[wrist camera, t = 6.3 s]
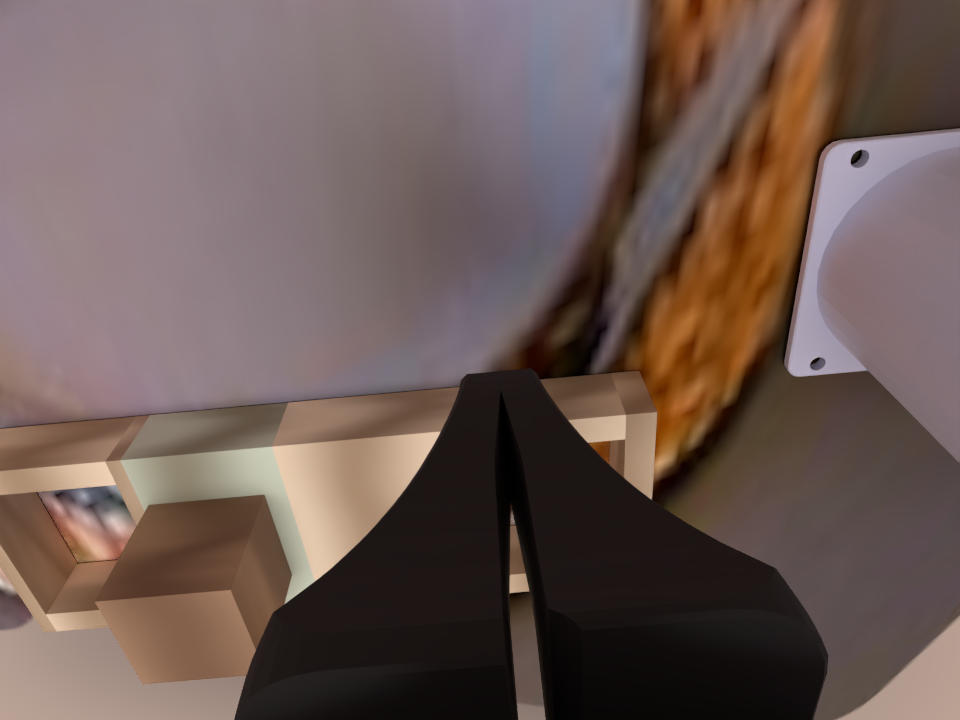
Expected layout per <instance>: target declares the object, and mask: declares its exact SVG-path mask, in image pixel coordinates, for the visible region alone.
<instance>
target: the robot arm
mask: <svg viewBox="0 0 960 720" xmlns="http://www.w3.org/2000/svg"><path fill="white" fill-rule="evenodd" d="M861 149H862V156H861V158H860V160H858V161H857V162H856V163H854V164H851V158H852V155H853V154H854V153H855V152H856V151H859V150H861ZM818 357H820V359H819V361H817V362H816V363H814V364H810V363H811V362H812V361H813V360H814V359H815V358H818ZM784 364H785V367H786V369H787V370H788V371H789V373H790V374H792V375H793V376H798V377H802V376H813V375H824V374H835V373H846V372H857V371H869V372H870V373H871V374H872V375H873V376H874V377H875V378H876V379H877V380H878V381H879V382H880V383H881V384H882V385H883V386H884V387H885V388H886V389H887V390H888V391H889V392H890V393H891V394H892V395H893V396H894V397H895V398H896V399H897V400H898V401H899V402H900V404H901V405H902V406H903V407H904V408H905V409H906V410H907V411H908V412H909V413H910V414H911V415H912V416H913V417H914V418H915V419H916V420H917V421H918V422H919V423H920V424H921V425H922V426H923V427H924V428H925V429H926V430H927V431H928V432H929V433H930V434H931V435H932V436H933V437H934V438H935V439H936V440H937V441H938V442H939V443H940V444H941V445H942V446H943V447H944V448H945V449H946V450H947V451H948V452H949V453H950V454H951V455H952V456H953V457H954V458H955V459H956V460H957V461H958V462H959V463H960V128H958V129H948V130H937V131H927V132H917V133H907V134H896V135H886V136H876V137H866V138H855V139H845V140H838V141H835V142H832V143H831V144H829V145H828V146H827V147H826V148H825V149H824V150H823V152H822V154H821V156H820V159H819V165H818V171H817V176H816V182H815V188H814V193H813V199H812V205H811V211H810V216H809V222H808V228H807V234H806V239H805V245H804V251H803V257H802V262H801V268H800V274H799V280H798V285H797V291H796V297H795V303H794V308H793V314H792V320H791V326H790V331H789V337H788V343H787V349H786V354H785V360H784ZM511 506H512V510H513V515H514V520H515V525H516V530H517V534H518V539H519V544H520V549H521V554H522V558H523V563H524V568H525V573H526V577H527V582H528V587H529V592H530V596H531V601H532V607H533V614H534V620H535V627H536V636H537V645H538V654H539V663H540V672H541V681H542V690H543V699H544V708H545V717H546V720H813V718H814V715H815V711H816V708H817V705H818V701H819V698H820V695H821V691H822V688H823V684H824V681H825V678H826V674H827V665H828V654H827V651H826V649H825V646H824V644H823V641H822V639H821V637H820V635H819V633H818V631H817V629H816V627H815V625H814V624H813V622H812V620H811V618H810V616H809V615H808V613H807V612H806V610H805V609H804V607H803V606H802V604H801V603H800V601H799V600H798V599H797V597H796V596H795V594H794V593H793V591H792V590H791V589H790V587H789V586H788V584H787V583H786V582H785V580H784V579H783V578H782V576H781V575H780V573H779V572H778V571H777V569H775V568H774V567H772V566H770V565H767V564H765V563H763V562H761V561H759V560H757V559H755V558H753V557H751V556H748V555H746V554H744V553H742V552H740V551H738V550H736V549H734V548H731V547H729V546H727V545H725V544H723V543H721V542H719V541H717V540H715V539H714V538H712V537H710V536H708V535H707V534H705V533H703V532H701V531H700V530H698V529H696V528H694V527H693V526H691V525H689V524H687V523H686V522H684V521H683V520H681V519H679V518H678V517H676V516H675V515H673V514H672V513H670V512H669V511H667V510H666V509H665V508H663V507H662V506H660V505H659V504H657V503H656V502H654V501H653V500H651V499H650V498H648V497H647V496H646V495H645V494H643V493H642V492H641V491H639V490H638V489H637V488H636V487H634V486H633V485H632V484H631V483H630V482H628V481H627V480H626V479H625V478H624V477H623V476H621V475H620V474H619V473H618V472H617V471H616V470H615V469H613V468H612V467H611V466H610V465H609V464H608V463H607V462H606V461H605V460H604V459H603V458H602V457H601V456H600V455H599V454H598V453H597V452H596V451H595V450H594V449H593V448H592V447H591V446H590V445H589V444H588V443H587V441H586V440H585V439H584V438H583V437H582V436H581V435H580V434H579V433H578V431H577V430H576V429H575V428H574V427H573V425H572V424H571V423H570V422H569V420H568V419H567V418H566V417H565V416H564V414H563V413H562V412H561V410H560V409H559V408H558V406H557V405H556V404H555V402H554V401H553V399H552V398H551V397H550V395H549V394H548V392H547V391H546V389H545V387H544V386H543V384H542V382H541V381H540V379H539V377H538V375H537V373H536V372H535V371H533V370H532V369H520V370H509V371H498V372H487V373H476V374H467V375H466V376H465V377H464V378H463V379H462V380H461V384H460V388H459V391H458V394H457V397H456V400H455V402H454V405H453V407H452V409H451V411H450V414H449V416H448V418H447V420H446V422H445V424H444V426H443V428H442V430H441V432H440V434H439V436H438V438H437V440H436V442H435V443H434V445H433V447H432V449H431V450H430V452H429V453H428V455H427V457H426V458H425V460H424V462H423V463H422V465H421V467H420V468H419V470H418V471H417V473H416V474H415V476H414V477H413V479H412V480H411V482H410V483H409V484H408V486H407V487H406V489H405V490H404V491H403V493H402V494H401V495H400V496H399V498H398V499H397V500H396V502H395V503H394V504H393V505H392V507H391V508H390V509H389V510H388V511H387V512H386V514H385V515H384V516H383V517H382V518H381V519H380V520H379V522H378V523H377V524H376V525H375V526H374V527H373V528H372V529H371V531H370V532H369V533H368V534H367V535H366V536H365V537H364V538H363V539H362V540H361V541H360V542H359V543H358V544H357V545H356V546H355V547H354V548H353V549H351V550H350V551H349V552H348V553H347V554H346V555H345V556H344V557H343V558H342V559H341V560H340V561H339V562H338V563H336V564H335V565H334V566H333V567H332V568H331V569H330V570H329V571H327V572H326V573H325V574H324V575H322V576H321V577H320V578H319V579H317V580H316V581H315V582H313V583H312V584H311V585H309V586H308V587H307V588H305V589H304V590H303V591H301V592H300V593H299V594H297V595H296V596H295V597H293V598H292V599H291V600H289V601H288V602H287V603H285V604H284V605H283V606H281V607H280V608H278V609H277V610H275V611H274V612H273V613H272V615H271V617H270V620H269V622H268V624H267V626H266V628H265V631H264V633H263V635H262V637H261V639H260V642H259V644H258V647H257V649H256V651H255V653H254V656H253V658H252V661H251V663H250V666H249V669H248V672H247V675H246V679H245V682H244V686H243V690H242V693H241V697H240V700H239V704H238V708H237V711H236V715H235V719H234V720H518V713H517V700H516V688H515V676H514V664H513V652H512V640H511V628H510V602H509V601H510V513H511Z"/></svg>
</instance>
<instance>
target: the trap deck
mask: <svg viewBox="0 0 960 720" xmlns="http://www.w3.org/2000/svg"><path fill="white" fill-rule="evenodd" d="M540 381H541V382H542V384H543V386H544V387H545V389H546V391H547V392H548V394H549V395H550V397H551V398H552V399H553V401H554V402H555V404H556V405H557V406H558V408H559V409H560V410H561V412H562V413H563V414H564V416H565V417H566V418H567V419H568V420H569V422H570V423H571V424H572V425H573V427H574V428H575V429H576V430H577V431H578V433H579V434H580V435H581V436H582V437H583V438H584V439H585V440H586V441H587V443H590V442H601V441H610V449H609V465H610V466H611V467H612V468H613V469H615V470H616V471H617V472H618V473H619V474H620V475H621V476H623V477H624V478H625V479H626V480H627V481H628V482H630V483H631V484H632V485H633V486H634V487H636V488H637V489H638V490H639V491H641V492H642V493H643V494H645V495H646V496H647V497H648V498H650V499H651V500H652V490H653V473H654V457H655V440H656V423H657V410H656V408H655V406H654V404H653V401H652V399H651V397H650V395H649V392H648V390H647V388H646V385H645V383H644V381H643V379H642V376H641V374H640V372H639V371H629V372H618V373H607V374H596V375H585V376H574V377H563V378H552V379H541V380H540ZM459 388H460V387H453V388H442V389H431V390H420V391H410V392H399V393H388V394H377V395H366V396H355V397H344V398H333V399H322V400H311V401H300V402H289V403H278V404H267V405H256V406H245V407H234V408H223V409H212V410H201V411H190V412H179V413H168V414H157V415H146V416H135V417H124V418H113V419H103V420H92V421H81V422H70V423H59V424H48V425H37V426H26V427H15V428H4V429H0V567H1V569H2V570H3V572H4V573H5V575H6V576H7V578H8V579H9V581H10V582H11V584H12V585H13V587H14V588H15V590H16V591H17V593H18V594H19V596H20V597H21V599H22V600H23V602H24V603H25V605H26V606H27V607H28V609H29V610H30V612H31V613H32V615H33V616H34V618H35V619H36V621H37V622H38V624H39V625H40V627H41V628H42V630H43V631H44V632H54V631H65V630H76V629H89V628H100V627H109V626H108V624H107V622H106V620H105V619H104V617H103V615H102V614H101V612H100V610H99V608H98V607H97V605H96V603H95V600H96V598H97V596H98V595H99V593H100V591H101V589H102V588H103V586H104V584H105V582H106V580H107V579H108V577H109V575H110V573H111V571H112V570H113V568H114V566H115V564H116V562H117V561H118V560H113V561H101V562H90V563H78V564H77V562H76V560H75V559H74V557H73V555H72V553H71V552H70V550H69V548H68V546H67V545H66V543H65V541H64V540H63V538H62V536H61V534H60V533H59V531H58V529H57V527H56V526H55V524H54V522H53V521H52V519H51V517H50V515H49V514H48V512H47V510H46V508H45V507H44V505H43V503H42V502H41V500H40V498H39V496H38V495H37V493H36V492H41V491H52V490H63V489H75V488H86V487H97V486H108V485H117V487H118V489H119V491H120V493H121V495H122V497H123V499H124V501H125V503H126V505H127V507H128V509H129V511H130V513H131V515H132V517H133V519H134V521H135V524H136V526H137V525H138V523H139V521H140V519H141V518H142V516H143V514H144V512H145V510H146V509H147V507H148V505H153V504H164V503H175V502H186V501H197V500H209V499H220V498H231V497H242V496H253V495H265V498H266V501H267V503H268V506H269V509H270V512H271V515H272V518H273V521H274V524H275V527H276V530H277V532H278V535H279V538H280V541H281V544H282V547H283V550H284V553H285V556H286V559H287V561H288V564H289V567H290V570H291V573H292V577H291V581H290V585H289V588H288V592H287V596H286V600H285V603H287V602H288V601H289V600H291V599H292V598H293V597H295V596H296V595H297V594H299V593H300V592H301V591H303V590H304V589H305V588H307V587H308V586H309V585H311V584H312V583H313V582H315V581H316V580H317V579H319V578H320V577H321V576H322V575H324V574H325V573H326V572H327V571H329V570H330V569H331V568H332V567H333V566H334V565H335V564H336V563H338V562H339V561H340V560H341V559H342V558H343V557H344V556H345V555H346V554H347V553H348V552H349V551H350V550H351V549H353V548H354V547H355V546H356V545H357V544H358V543H359V542H360V541H361V540H362V539H363V538H364V537H365V536H366V535H367V534H368V533H369V532H370V531H371V529H372V528H373V527H374V526H375V525H376V524H377V523H378V522H379V520H380V519H381V518H382V517H383V516H384V515H385V514H386V512H387V511H388V510H389V509H390V508H391V507H392V505H393V504H394V503H395V502H396V500H397V499H398V498H399V496H400V495H401V494H402V493H403V491H404V490H405V489H406V487H407V486H408V484H409V483H410V482H411V480H412V479H413V477H414V476H415V474H416V473H417V471H418V470H419V468H420V467H421V465H422V463H423V462H424V460H425V458H426V457H427V455H428V453H429V452H430V450H431V449H432V447H433V445H434V443H435V442H436V440H437V438H438V436H439V434H440V432H441V430H442V428H443V426H444V424H445V422H446V420H447V418H448V416H449V414H450V411H451V409H452V407H453V405H454V402H455V400H456V397H457V394H458V391H459ZM525 591H529V587H528V582H527V577H526V573H525V568H524V563H523V558H522V554H521V549H520V544H519V539H518V534H517V530H516V525H515V526H510V593H513V592H525Z"/></svg>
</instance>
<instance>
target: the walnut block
mask: <svg viewBox="0 0 960 720" xmlns="http://www.w3.org/2000/svg"><path fill="white" fill-rule="evenodd" d="M291 577H292V573H291V570H290V567H289V564H288V561H287V559H286V556H285V553H284V550H283V547H282V544H281V541H280V538H279V535H278V532H277V530H276V527H275V524H274V521H273V518H272V515H271V512H270V509H269V506H268V503H267V501H266V498H265V495H253V496H242V497H231V498H220V499H209V500H197V501H186V502H175V503H164V504H153V505H148V507H147V509H146V510H145V512H144V514H143V516H142V518H141V519H140V521H139V523H138V525H137V527H136V528H135V530H134V532H133V534H132V536H131V537H130V539H129V541H128V543H127V545H126V546H125V548H124V550H123V552H122V553H121V555H120V557H119V559H118V561H117V562H116V564H115V566H114V568H113V570H112V571H111V573H110V575H109V577H108V579H107V580H106V582H105V584H104V586H103V588H102V589H101V591H100V593H99V595H98V596H97V598H96V600H95V603H96V605H97V607H98V608H99V610H100V612H101V614H102V615H103V617H104V619H105V620H106V622H107V624H108V626H109V627H110V629H111V631H112V632H113V634H114V636H115V637H116V639H117V641H118V643H119V644H120V646H121V648H122V649H123V651H124V653H125V654H126V656H127V658H128V660H129V661H130V663H131V665H132V666H133V668H134V670H135V671H136V673H137V675H138V677H139V678H140V680H141V682H142V683H143V684H151V683H163V682H174V681H186V680H198V679H210V678H222V677H233V676H246V675H247V672H248V669H249V666H250V663H251V661H252V658H253V656H254V653H255V651H256V649H257V647H258V644H259V642H260V639H261V637H262V635H263V633H264V631H265V628H266V626H267V624H268V622H269V620H270V617H271V615H272V613H273V612H274V611H275V610H277V609H278V608H280V607H281V606H283V605H284V604H285V600H286V596H287V592H288V588H289V585H290V581H291Z"/></svg>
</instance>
